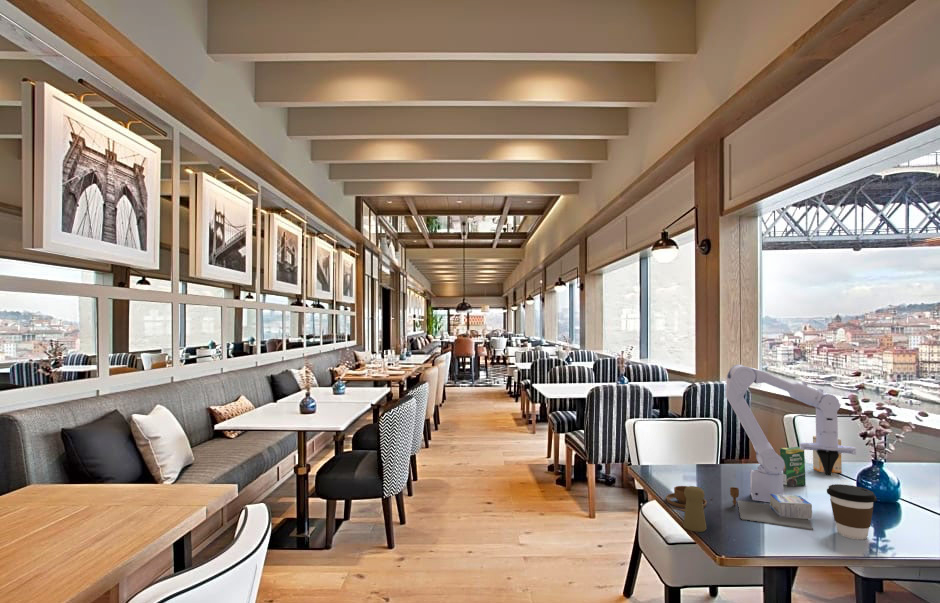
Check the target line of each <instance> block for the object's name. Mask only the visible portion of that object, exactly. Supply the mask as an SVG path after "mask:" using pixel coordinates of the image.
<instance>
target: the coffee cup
mask: <svg viewBox="0 0 940 603" xmlns="http://www.w3.org/2000/svg"><path fill="white" fill-rule="evenodd" d="M826 494H827V495H829V497H830V504H831V506H830V507H831V509H832V510H831V511H832V516H833V519H834V522H835V525H836V531H837V533H838V534H839V535H840V536H842V537H845V538H849V539H852V540H861V541H862V540H866V539H867V538H868V536H869V532H870V527H871V526H872V525H871V524H872V518H873V513H874V512H873V511H874V503H875V502H877V496H876V495H875V493H874V492H873V491H871V490H869V489H867V488H864V487H859V486H856V485H850V484H838V483H836V484H835V483H834V484H830V485H828V488H827V489H826Z"/></svg>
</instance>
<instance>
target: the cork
mask: <svg viewBox="0 0 940 603" xmlns="http://www.w3.org/2000/svg"><path fill="white" fill-rule="evenodd" d="M684 495H685V497H686V506H685V508H684V509H685V512H684V515H683V516H684V517H683V522H682V526H683V528H684V529H686V530H688V531H691V532H698V533H699V532H705V530H706V529H707V522H706V518H705V517H706V515H705V509H704V508H705V507H704V508H703V501H702V500H703V499H705V491H704V490H703V489H702V488H701V487H699V486H695V485H689V486H688V487H686V488H685V490H684ZM706 531H707V530H706Z"/></svg>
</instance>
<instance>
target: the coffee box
mask: <svg viewBox="0 0 940 603" xmlns="http://www.w3.org/2000/svg"><path fill="white" fill-rule="evenodd" d="M779 451H780V452H779V454H780V455H779V456H780V457H781V458H782V459H783V460H784V463H785V467H784V469H783V486H784V485H785V486H784V487H786V486H787V487H786V488H788V486H791V487H798V486H799V487H800V486H801V487H803V486H806V483H807V482H806V465H805V464H806V462H805V450H801V449H800V446H793V447H792V446H791V447H780V448H779Z"/></svg>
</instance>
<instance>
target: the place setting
mask: <svg viewBox="0 0 940 603" xmlns="http://www.w3.org/2000/svg"><path fill="white" fill-rule="evenodd" d="M686 487H688V486H687V485H676V486H675V487H674V489H673V493H668V494H667V495H666V496H665V500H666V502H667V504H670V505H671V506H673V507H672V509H673V510H679V511H680V512H681V511H682V512H684V513H685V506H686V497H685V495H684V490H685V488H686ZM729 493H730V496H731V498H732V506H733V505H736V506H737V504H738V502H737V498H738V497H739V495H740V489H739V487H733V486H731V487H729ZM671 499H676V500H677V501H678V502H679V503H678V502H676V501H673V500H671ZM711 499H712V500H713V498H711ZM712 500H711V501H712ZM702 501H703V503H704V504H703V508H706V506H707V500H706V499H705V498H704V499H703V500H702ZM676 507H677V508H676Z"/></svg>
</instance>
